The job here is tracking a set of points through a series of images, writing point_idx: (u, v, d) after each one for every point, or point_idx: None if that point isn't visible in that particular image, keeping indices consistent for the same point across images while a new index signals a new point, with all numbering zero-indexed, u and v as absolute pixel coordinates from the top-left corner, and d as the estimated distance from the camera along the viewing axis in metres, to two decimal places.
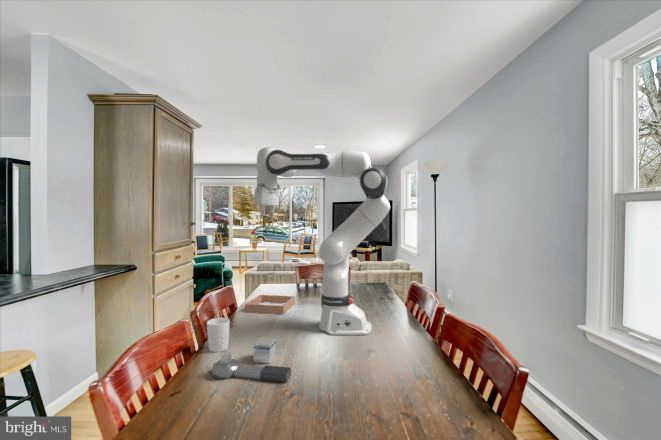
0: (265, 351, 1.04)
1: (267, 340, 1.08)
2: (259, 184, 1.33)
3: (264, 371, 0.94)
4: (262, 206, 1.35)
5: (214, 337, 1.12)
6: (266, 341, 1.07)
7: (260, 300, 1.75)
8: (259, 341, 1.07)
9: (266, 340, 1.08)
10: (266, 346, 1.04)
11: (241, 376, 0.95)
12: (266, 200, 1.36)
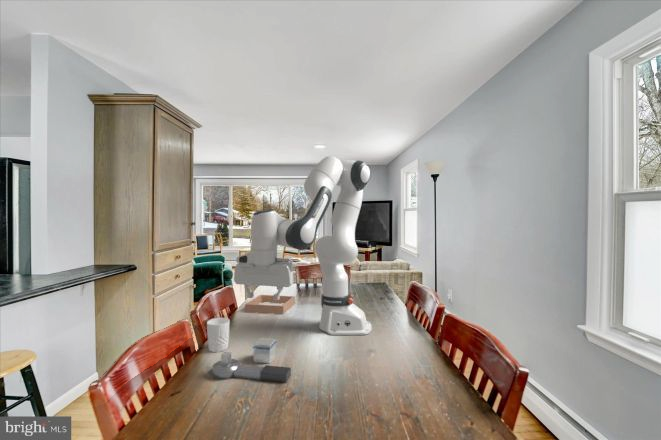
0: (265, 351, 1.04)
1: (267, 340, 1.08)
2: (289, 260, 1.06)
3: (264, 371, 0.94)
4: (282, 287, 1.07)
5: (214, 337, 1.12)
6: (266, 341, 1.07)
7: (260, 300, 1.75)
8: (259, 341, 1.07)
9: (266, 340, 1.08)
10: (266, 346, 1.04)
11: (241, 376, 0.95)
12: None
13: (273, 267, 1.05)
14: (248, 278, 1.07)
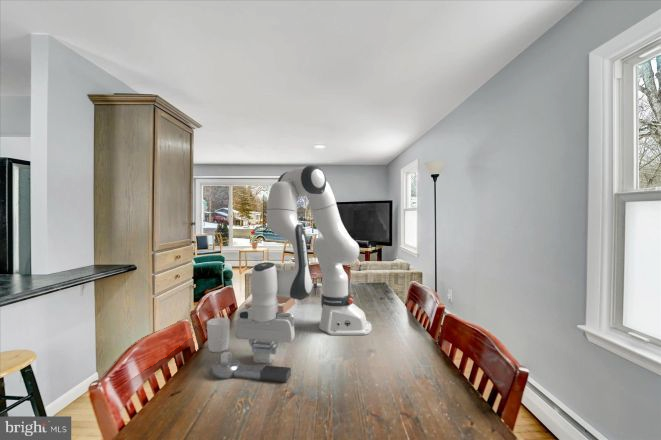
0: (265, 351, 1.04)
1: None
2: None
3: (264, 371, 0.94)
4: None
5: (214, 337, 1.12)
6: (266, 341, 1.07)
7: None
8: (259, 341, 1.07)
9: None
10: (266, 346, 1.04)
11: (241, 376, 0.95)
12: None
13: (274, 322, 1.04)
14: (249, 333, 1.06)
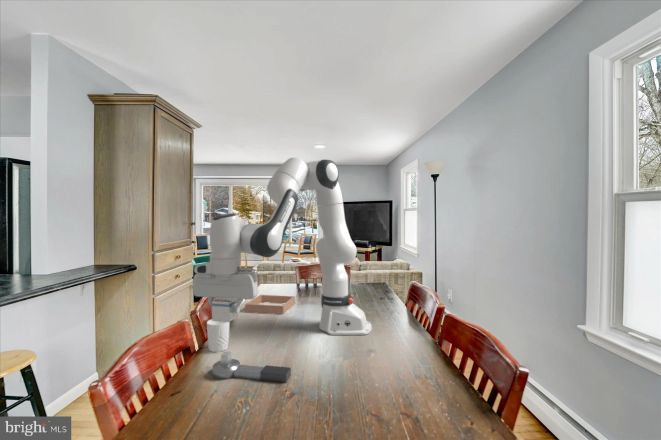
0: (224, 309, 0.94)
1: (228, 298, 0.98)
2: None
3: (264, 371, 0.94)
4: (242, 299, 0.97)
5: (214, 337, 1.12)
6: (227, 299, 0.97)
7: (260, 300, 1.75)
8: (219, 299, 0.97)
9: (227, 298, 0.98)
10: (225, 303, 0.94)
11: (241, 376, 0.95)
12: None
13: (235, 277, 0.95)
14: (208, 290, 0.97)
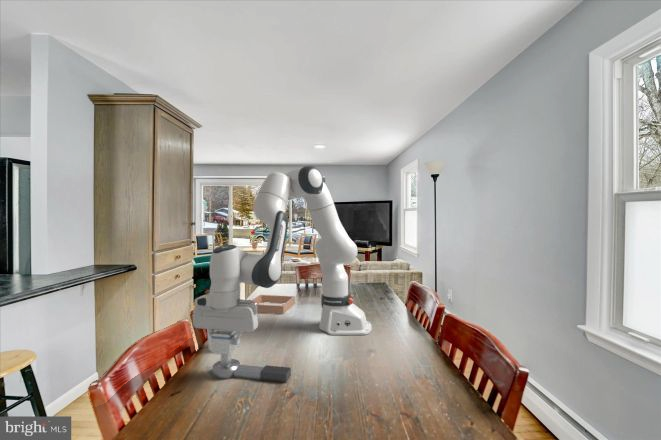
0: (225, 342, 0.95)
1: (228, 330, 0.98)
2: (252, 301, 0.96)
3: (264, 371, 0.94)
4: None
5: None
6: (227, 331, 0.98)
7: (260, 300, 1.75)
8: (219, 330, 0.98)
9: None
10: (225, 336, 0.95)
11: (241, 376, 0.95)
12: None
13: (235, 310, 0.95)
14: (208, 322, 0.97)
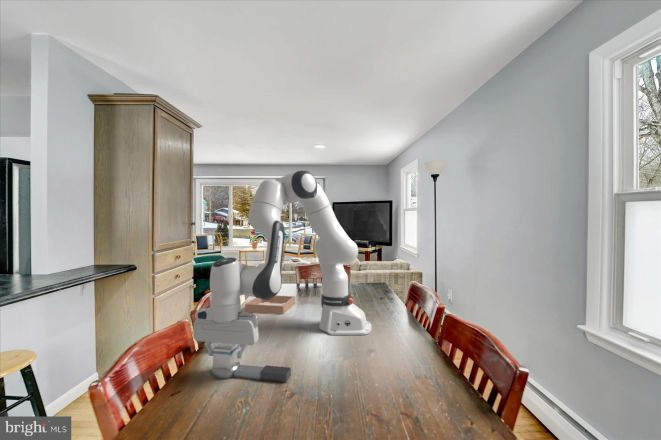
0: (225, 357, 0.95)
1: (229, 344, 0.98)
2: (253, 315, 0.96)
3: (264, 371, 0.94)
4: None
5: None
6: (228, 345, 0.98)
7: (260, 300, 1.75)
8: (220, 345, 0.98)
9: (228, 344, 0.99)
10: (226, 351, 0.95)
11: (241, 376, 0.95)
12: None
13: (235, 323, 0.95)
14: (208, 335, 0.97)
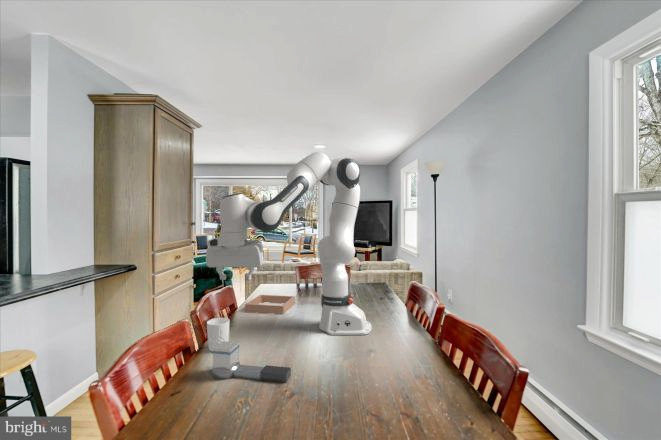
0: (225, 357, 0.95)
1: (229, 344, 0.98)
2: None
3: (264, 371, 0.94)
4: (253, 268, 1.10)
5: (214, 337, 1.12)
6: (228, 345, 0.98)
7: (260, 300, 1.75)
8: (220, 345, 0.98)
9: (228, 344, 0.99)
10: (226, 351, 0.95)
11: (241, 376, 0.95)
12: None
13: (243, 248, 1.08)
14: (219, 261, 1.10)
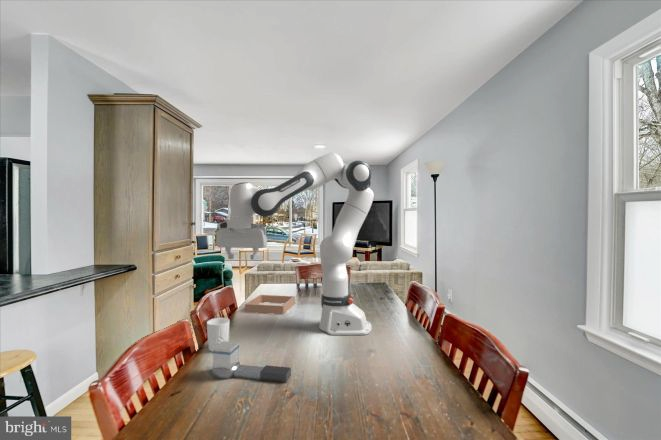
0: (225, 357, 0.95)
1: (229, 344, 0.98)
2: (263, 225, 1.24)
3: (264, 371, 0.94)
4: (258, 248, 1.25)
5: (214, 337, 1.12)
6: (228, 345, 0.98)
7: (260, 300, 1.75)
8: (220, 345, 0.98)
9: (228, 344, 0.99)
10: (226, 351, 0.95)
11: (241, 376, 0.95)
12: None
13: (249, 231, 1.23)
14: (228, 242, 1.24)
